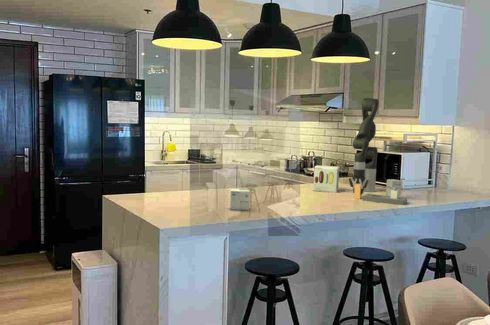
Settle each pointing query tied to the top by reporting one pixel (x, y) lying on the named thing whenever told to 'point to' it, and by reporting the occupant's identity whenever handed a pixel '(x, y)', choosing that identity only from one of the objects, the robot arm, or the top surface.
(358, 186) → the orange plug
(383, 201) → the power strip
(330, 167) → the supplement box
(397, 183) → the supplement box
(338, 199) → the top surface
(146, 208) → the top surface
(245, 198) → the light bulb box
